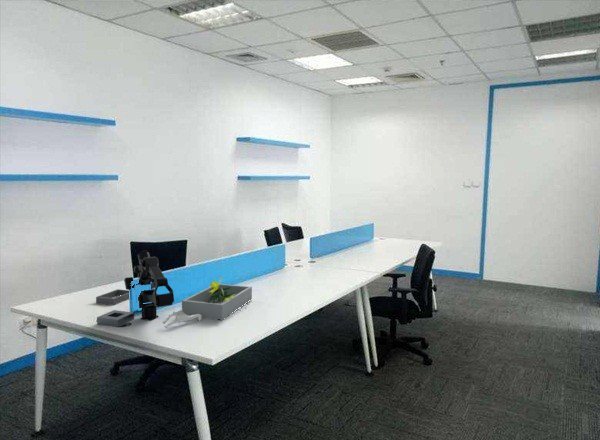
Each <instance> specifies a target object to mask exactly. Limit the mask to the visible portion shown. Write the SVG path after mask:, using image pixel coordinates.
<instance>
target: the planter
mask: <svg viewBox="0 0 600 440" xmlns="http://www.w3.org/2000/svg"><path fill="white" fill-rule="evenodd" d="M219 287H220V288H225V287H232V288H230V289H227V290H223V292H224V293H225V292H227V293H226V294H225V295H228V294H232V293H234V294H235V295H234V294H233V296H234V297H232V298H230V299H228V300H227V301H225V302H223V301H222V303H221V304H220V303H217V302H216V303H215V302H214V303H212V301H213V299H214V298H215V297H213V298H212V296H213V295H215V294H210V293H212V292H213V291H212V292H209V291H211V290H213V287H206V288H205V289H203V290H201V291H198V292H197V293H195V294H193V295H191V296H189V297H187V298H184V299H182V300H181V310H182V311H183V312H184V313H185V314H186V315H188V316H191V315H195V314H200V315H201V316H202V318H201V319H205V318H211V319H210V320H214V319H220V320H219V321H224V320H225V319H226V317H227V316H228V315H230V314H231V313H232V312H234V311H235V310H236V309H238V308H239V307H241V306H242V305H244V304H245V303H246V302H248V301H249V300H251V299H252V300H253V287H252V286H247V285H237V284H236V285H235V284H227V283H226V284H224V283H220V284H219ZM214 292H215V291H214ZM216 294H217V293H216ZM220 295H222V293H220ZM231 296H232V295H231ZM231 296H229V297H231ZM229 297H227V298H229ZM252 300H251V301H252ZM208 302H209V303H208ZM248 303H249V302H248ZM245 305H246V304H245ZM245 305H244V306H245ZM242 307H243V306H242ZM242 307H241V308H242ZM238 310H239V309H238ZM235 312H236V311H235ZM235 312H234V313H235ZM232 314H233V313H232ZM232 314H231V315H232ZM231 315H230V316H231ZM228 317H229V316H228ZM228 317H227V318H228ZM224 318H225V319H224ZM223 319H224V320H223Z"/></svg>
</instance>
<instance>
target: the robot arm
mask: <svg viewBox="0 0 600 440" xmlns="http://www.w3.org/2000/svg"><path fill="white" fill-rule="evenodd" d="M137 258H138V264H139V265H135V266H134V267H133V273H134V274H137V278H138V280H139V283H138V284H136V285H135V284H134V285H133V286H132V288H134V289H135V288H136V287H135V286H148V285H151V290H150V289H146V290H144V291H141V293H140V295H139V297H138V301H139V308H142V311H141V317H140V318H139V319H140V320H145V321H153V320H155V319H157V318H158V317H159V315H157V313H158V312H157V308H162V307H168V306H172V305H174V304H173V303H175V296H174V290H173V288H172V287H171V286H170V285H169V282H168V281H169V280H168V278H167V277H165V275H164V273H163V272H162V270H161V269H160V267H159V266H160V260H159V258H158V257H157V256H151V255H150V252H148V250H146V249H145V250H142V251H141V252H139V253H138V254H137ZM133 280H134V277H133V276H130V277H129V276H128V277H127V276H126V277H125V278H124V280H123V282H124V286H125V290H130V289H131V286H130V285H131V284H130V283H131V281H133ZM159 287H161V288H162V287H165V288H166V290H167V291H168V292H167V293H161V294H159V293H157V291H158V288H159ZM130 291H131V290H130ZM143 303H146V304H143Z"/></svg>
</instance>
